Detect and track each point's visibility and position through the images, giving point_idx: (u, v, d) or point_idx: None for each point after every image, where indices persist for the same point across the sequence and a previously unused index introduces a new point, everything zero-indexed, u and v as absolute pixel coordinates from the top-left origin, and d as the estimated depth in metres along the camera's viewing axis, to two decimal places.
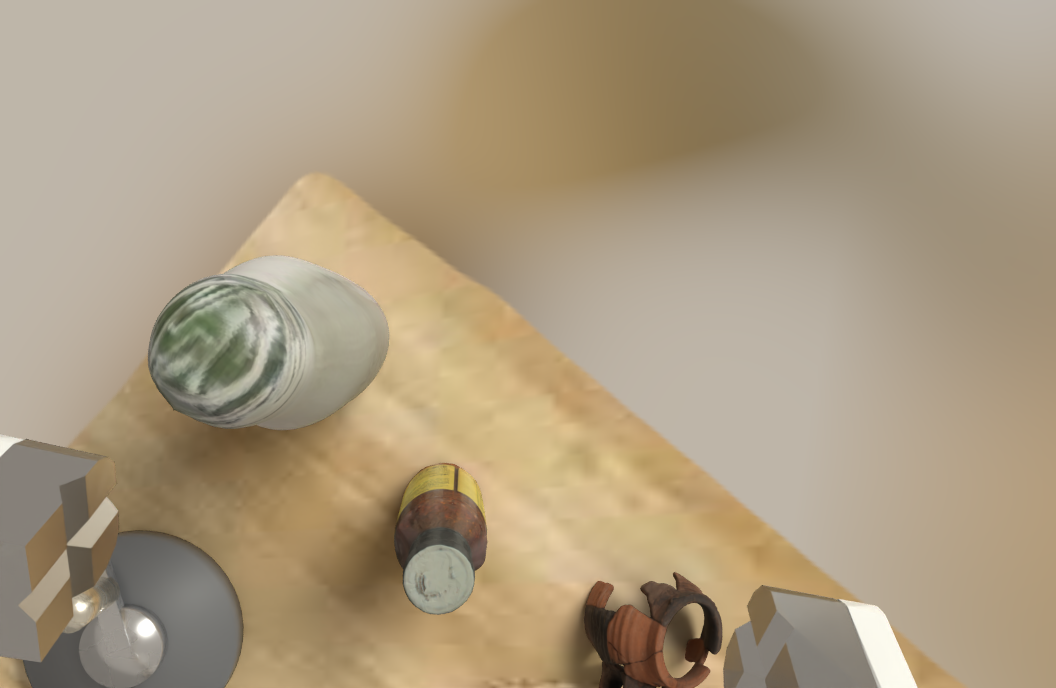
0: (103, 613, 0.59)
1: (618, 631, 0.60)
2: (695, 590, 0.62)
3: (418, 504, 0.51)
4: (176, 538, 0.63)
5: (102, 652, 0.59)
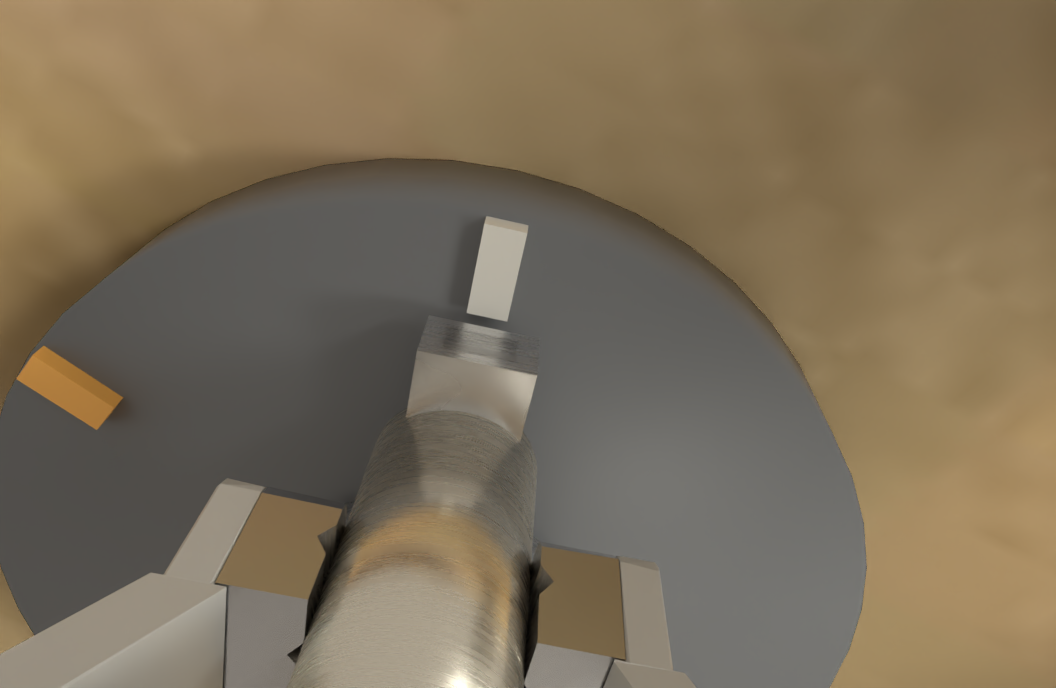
0: None
1: None
2: None
3: None
4: (778, 335, 0.14)
5: None
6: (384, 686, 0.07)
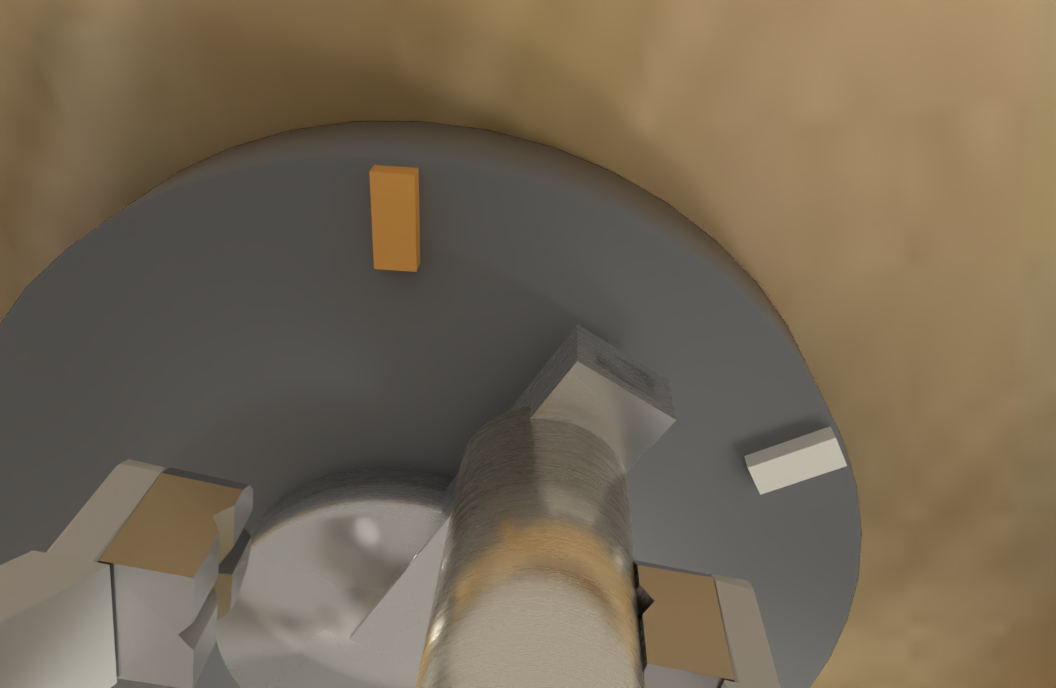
0: None
1: None
2: None
3: None
4: None
5: (328, 616, 0.13)
6: None
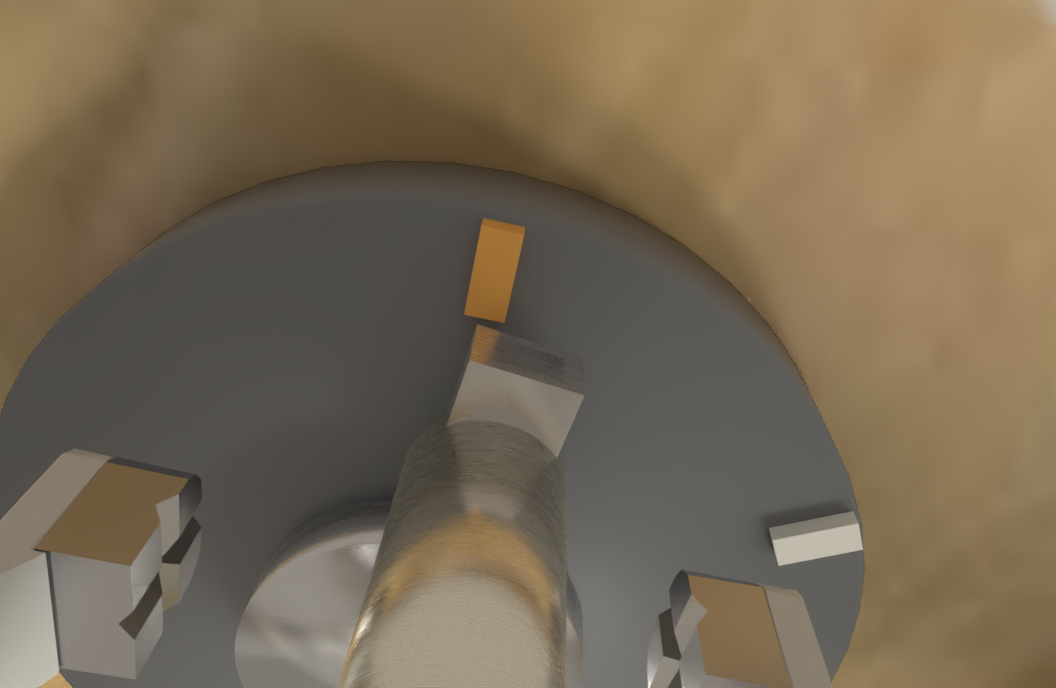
0: None
1: None
2: None
3: None
4: None
5: (337, 652, 0.13)
6: None
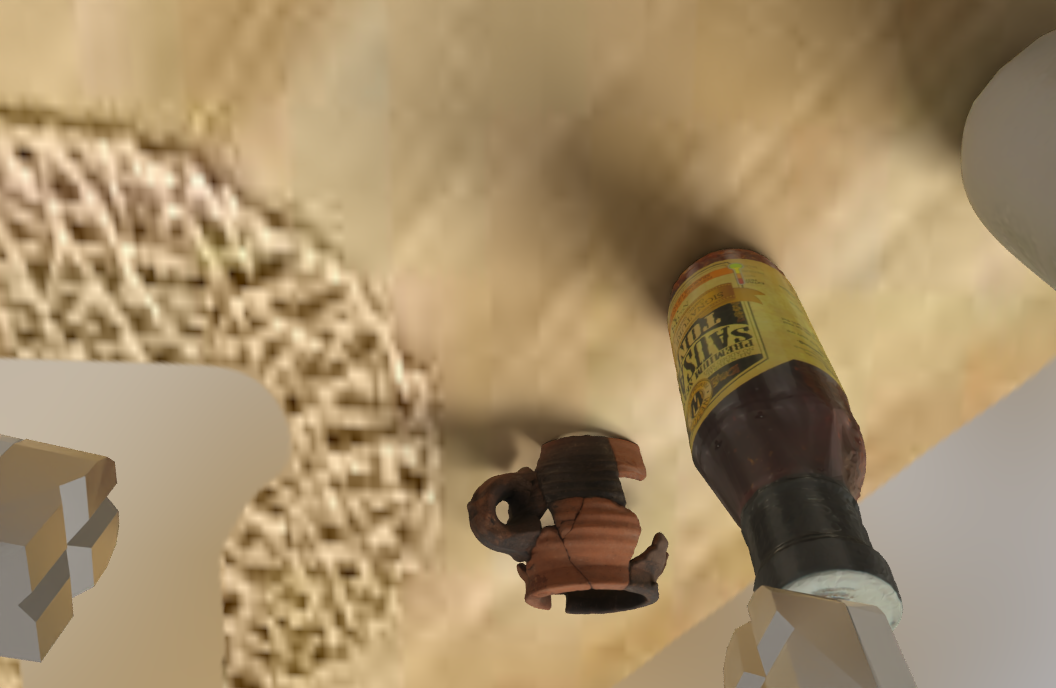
0: None
1: (604, 520, 0.41)
2: None
3: (860, 432, 0.28)
4: None
5: None
6: None
